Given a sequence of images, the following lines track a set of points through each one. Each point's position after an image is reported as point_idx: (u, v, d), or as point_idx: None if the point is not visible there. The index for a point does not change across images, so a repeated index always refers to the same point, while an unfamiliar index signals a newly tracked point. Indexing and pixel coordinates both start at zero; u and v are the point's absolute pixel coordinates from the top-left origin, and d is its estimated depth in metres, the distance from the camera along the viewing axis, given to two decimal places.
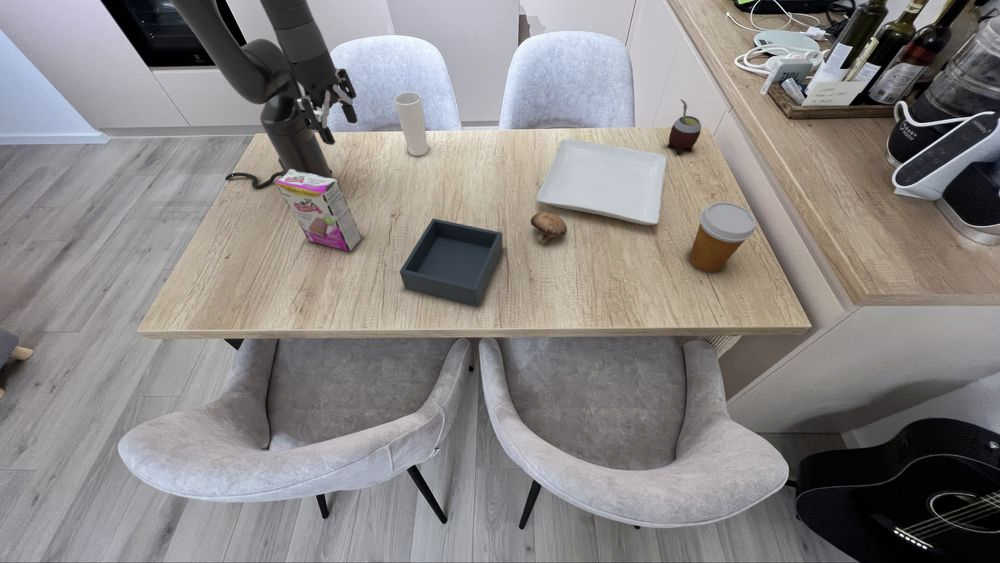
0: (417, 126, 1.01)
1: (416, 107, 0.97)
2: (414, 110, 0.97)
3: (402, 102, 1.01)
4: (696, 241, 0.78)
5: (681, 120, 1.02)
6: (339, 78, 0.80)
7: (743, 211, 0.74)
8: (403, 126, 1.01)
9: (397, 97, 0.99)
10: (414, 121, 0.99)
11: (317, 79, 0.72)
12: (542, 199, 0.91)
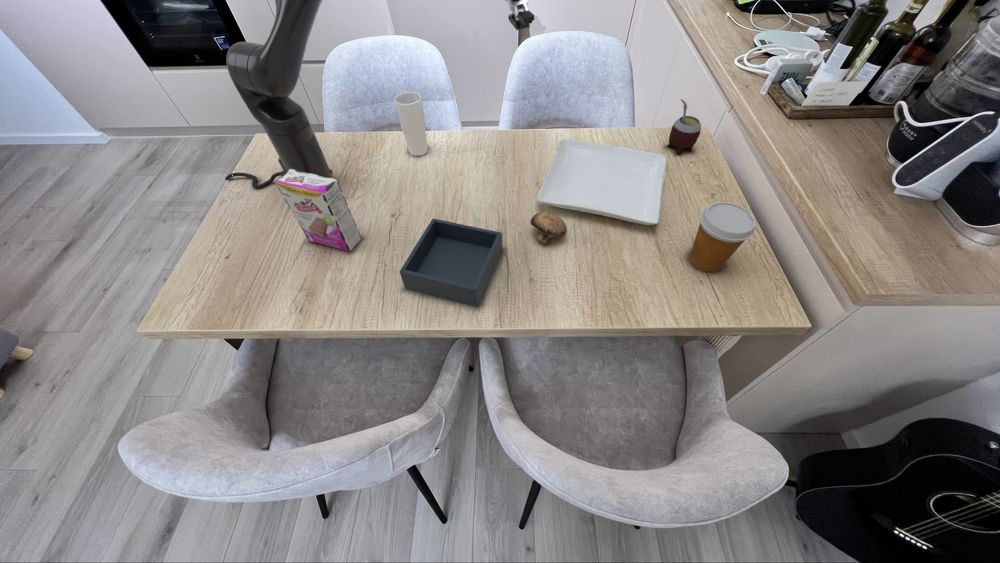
0: (417, 126, 1.01)
1: (416, 107, 0.97)
2: (414, 110, 0.97)
3: (402, 102, 1.01)
4: (696, 241, 0.78)
5: (681, 120, 1.02)
6: (517, 10, 0.78)
7: (743, 211, 0.74)
8: (403, 126, 1.01)
9: (397, 97, 0.99)
10: (414, 121, 0.99)
11: None
12: (542, 199, 0.91)
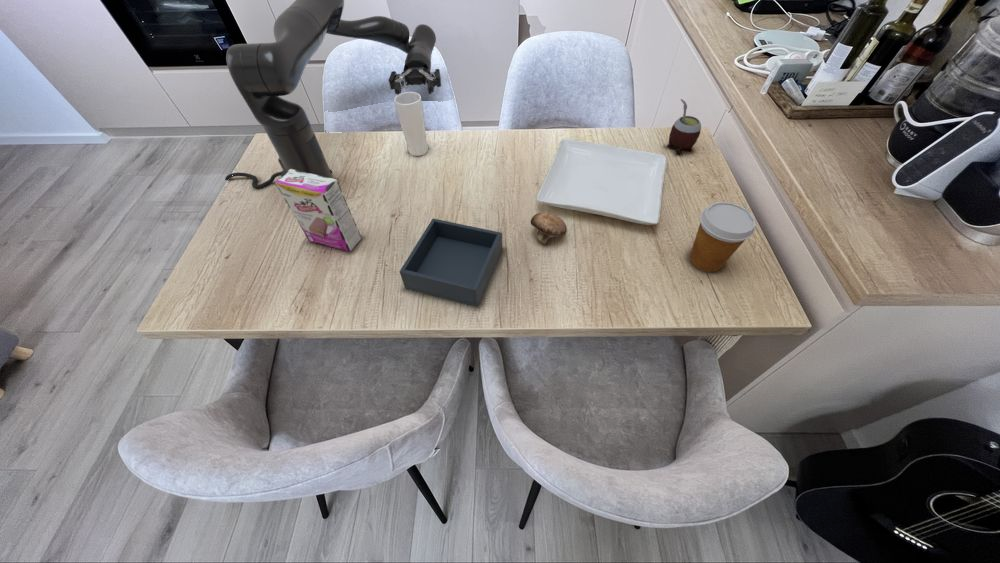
0: (417, 126, 1.01)
1: (416, 107, 0.97)
2: (414, 110, 0.97)
3: (402, 102, 1.01)
4: (696, 241, 0.78)
5: (681, 120, 1.02)
6: (433, 73, 1.13)
7: (743, 211, 0.74)
8: (403, 126, 1.01)
9: (397, 97, 0.99)
10: (414, 121, 0.99)
11: (405, 62, 1.13)
12: (542, 199, 0.91)
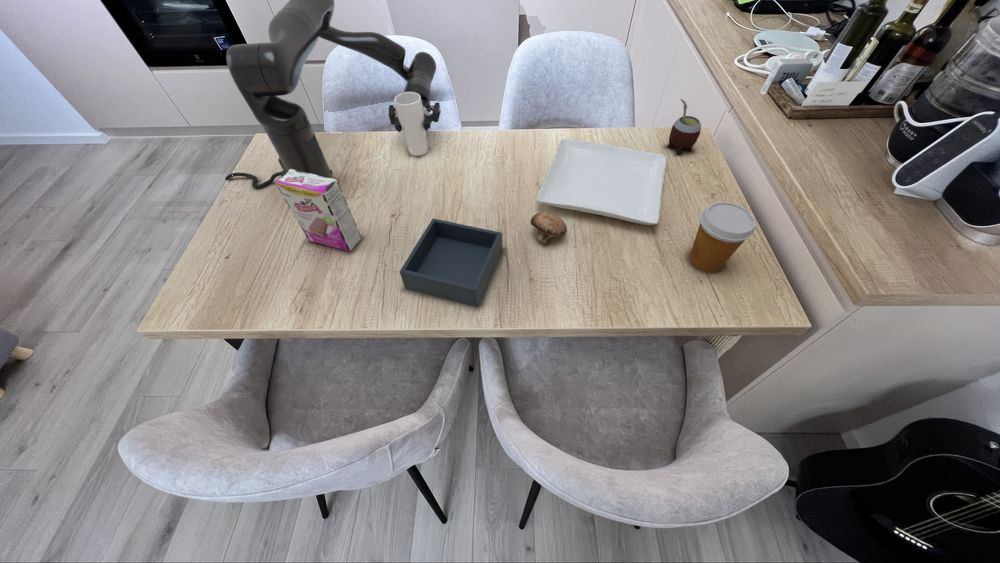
0: (417, 126, 1.01)
1: (416, 107, 0.97)
2: (414, 110, 0.97)
3: (402, 102, 1.01)
4: (696, 241, 0.78)
5: (681, 120, 1.02)
6: (432, 107, 1.07)
7: (743, 211, 0.74)
8: (403, 126, 1.01)
9: (397, 97, 0.99)
10: (414, 121, 0.99)
11: None
12: (542, 199, 0.91)
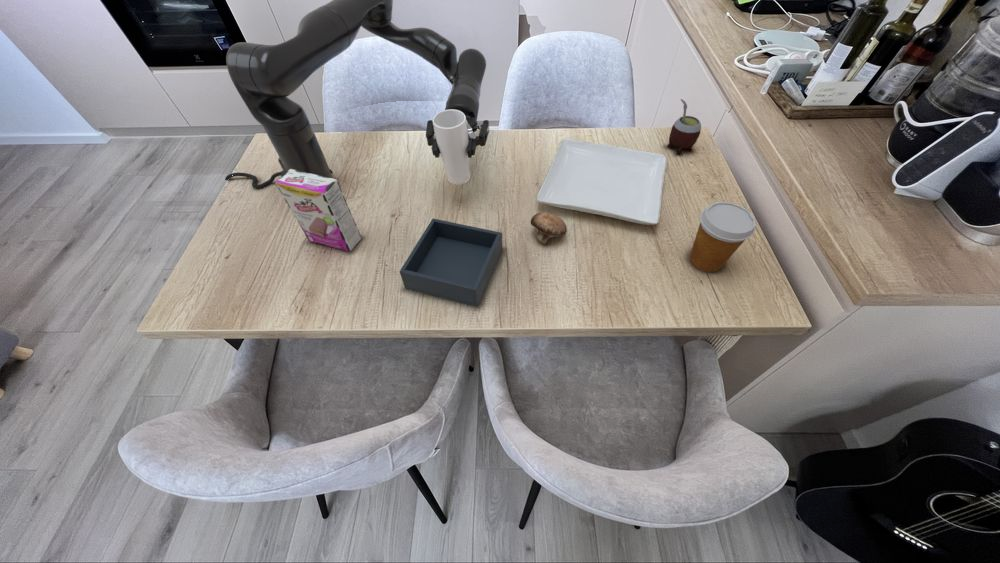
0: (459, 153, 0.81)
1: (459, 131, 0.78)
2: (456, 135, 0.78)
3: (443, 121, 0.81)
4: (696, 241, 0.78)
5: (681, 120, 1.02)
6: (480, 126, 0.87)
7: (743, 211, 0.74)
8: (442, 151, 0.82)
9: (437, 116, 0.79)
10: (455, 147, 0.80)
11: (446, 107, 0.88)
12: (542, 199, 0.91)
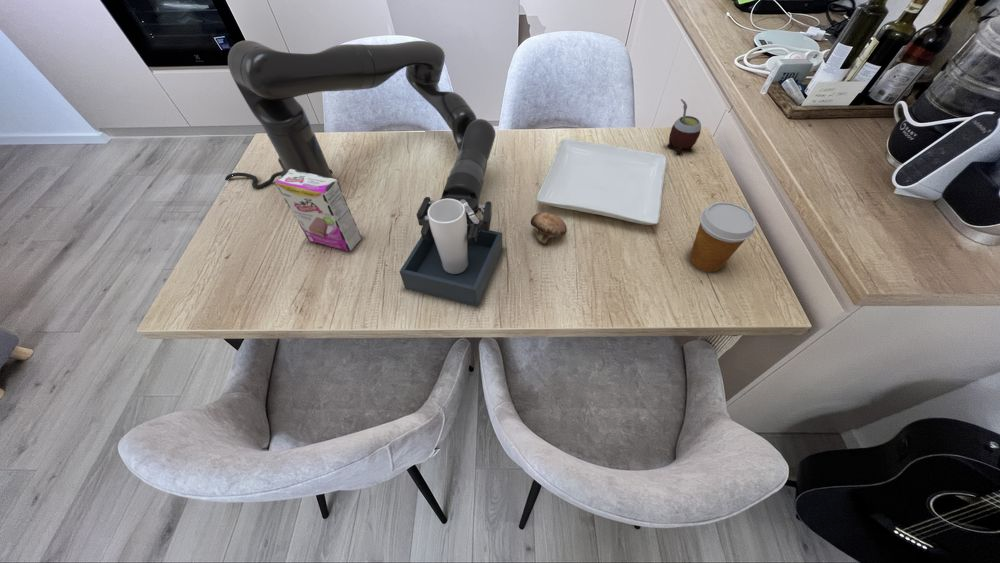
0: (455, 246, 0.73)
1: (456, 226, 0.69)
2: (452, 229, 0.69)
3: (440, 210, 0.73)
4: (696, 241, 0.78)
5: (681, 120, 1.02)
6: (481, 208, 0.78)
7: (743, 211, 0.74)
8: (436, 243, 0.73)
9: (434, 205, 0.71)
10: (451, 241, 0.71)
11: (446, 186, 0.79)
12: (542, 199, 0.91)
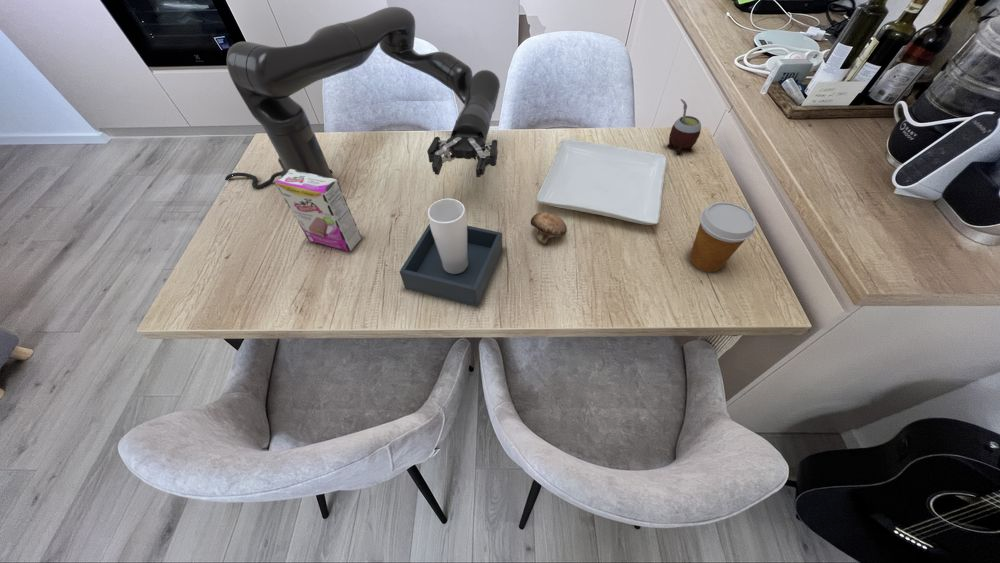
0: (455, 246, 0.73)
1: (456, 226, 0.69)
2: (452, 229, 0.69)
3: (440, 210, 0.73)
4: (696, 241, 0.78)
5: (681, 120, 1.02)
6: (488, 146, 0.83)
7: (743, 211, 0.74)
8: (436, 243, 0.73)
9: (434, 205, 0.71)
10: (451, 241, 0.71)
11: (454, 126, 0.84)
12: (542, 199, 0.91)
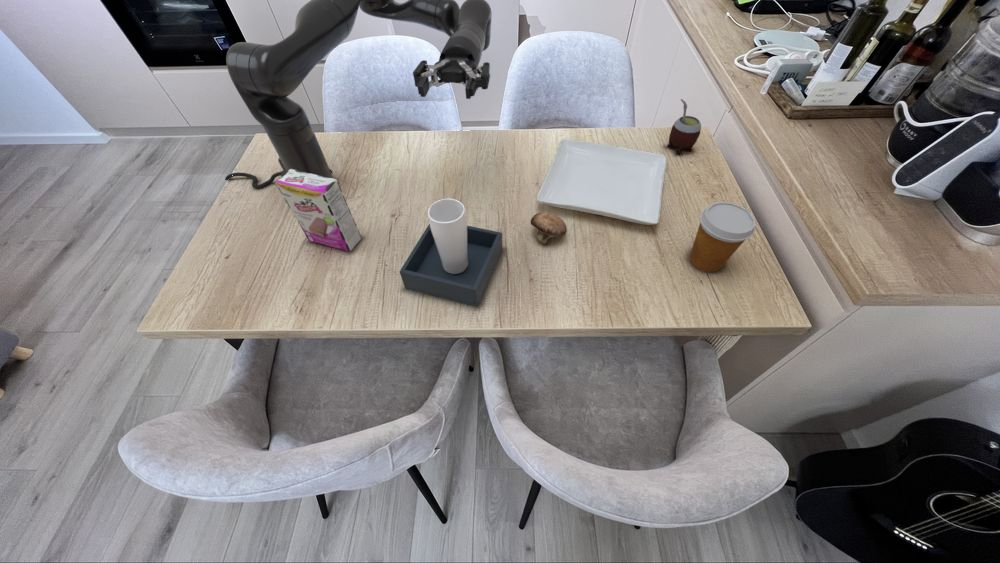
0: (455, 246, 0.73)
1: (456, 226, 0.69)
2: (452, 229, 0.69)
3: (440, 210, 0.73)
4: (696, 241, 0.78)
5: (681, 120, 1.02)
6: (479, 69, 0.76)
7: (743, 211, 0.74)
8: (436, 243, 0.73)
9: (434, 205, 0.71)
10: (451, 241, 0.71)
11: (443, 49, 0.78)
12: (542, 199, 0.91)
